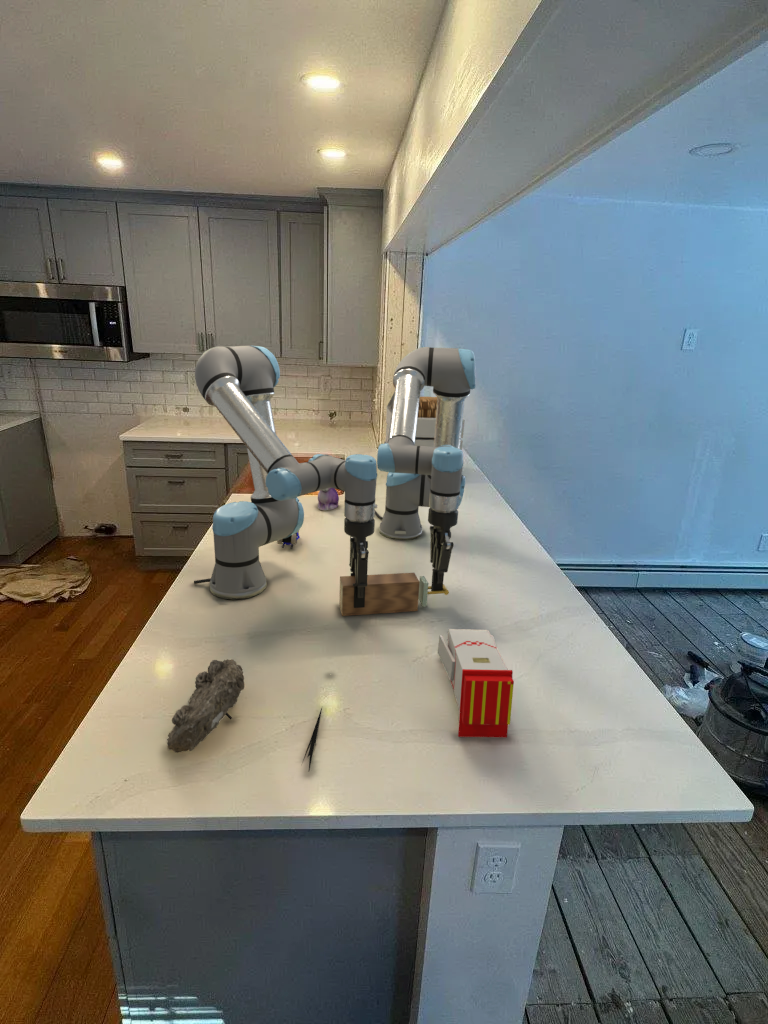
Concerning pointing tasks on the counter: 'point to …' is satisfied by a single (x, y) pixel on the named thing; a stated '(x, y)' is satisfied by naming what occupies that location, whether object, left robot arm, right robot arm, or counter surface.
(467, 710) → the toy
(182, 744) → the fossil
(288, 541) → the figurine character
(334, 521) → the counter surface
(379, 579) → the cabinet
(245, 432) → the left robot arm
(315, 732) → the feather
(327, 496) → the figurine
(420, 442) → the transformer
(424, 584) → the drawer
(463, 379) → the right robot arm
